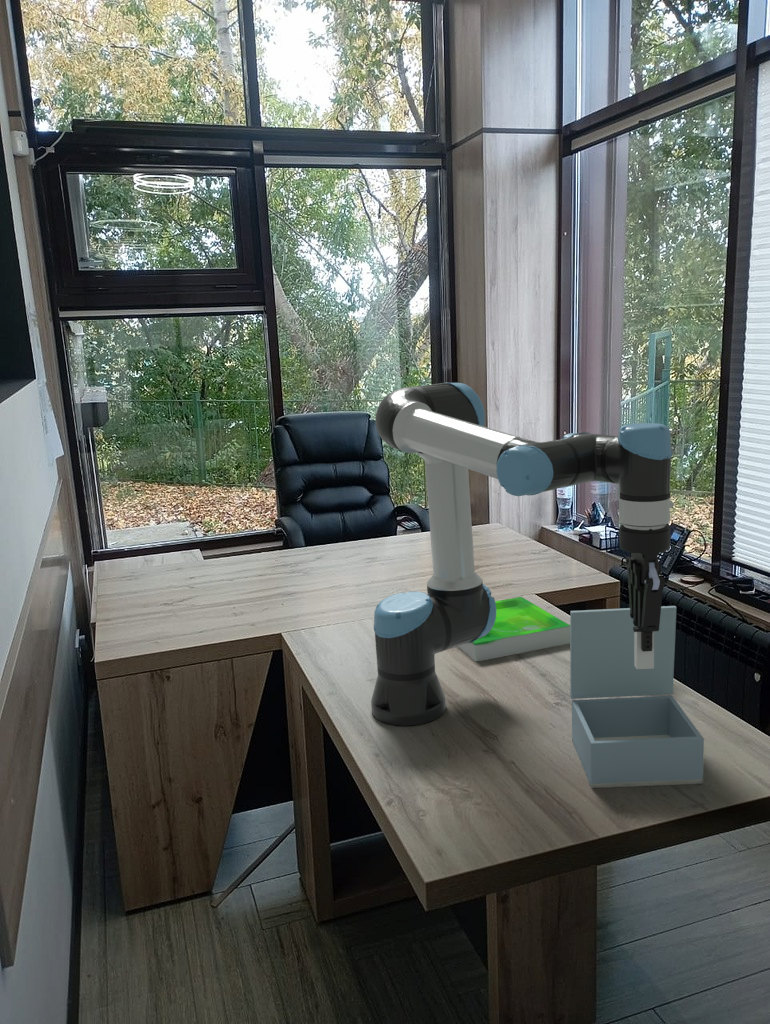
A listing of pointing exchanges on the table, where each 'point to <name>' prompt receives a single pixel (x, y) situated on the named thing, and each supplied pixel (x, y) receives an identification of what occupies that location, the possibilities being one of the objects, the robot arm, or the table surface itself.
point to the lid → (618, 655)
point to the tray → (518, 631)
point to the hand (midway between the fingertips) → (644, 666)
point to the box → (636, 742)
